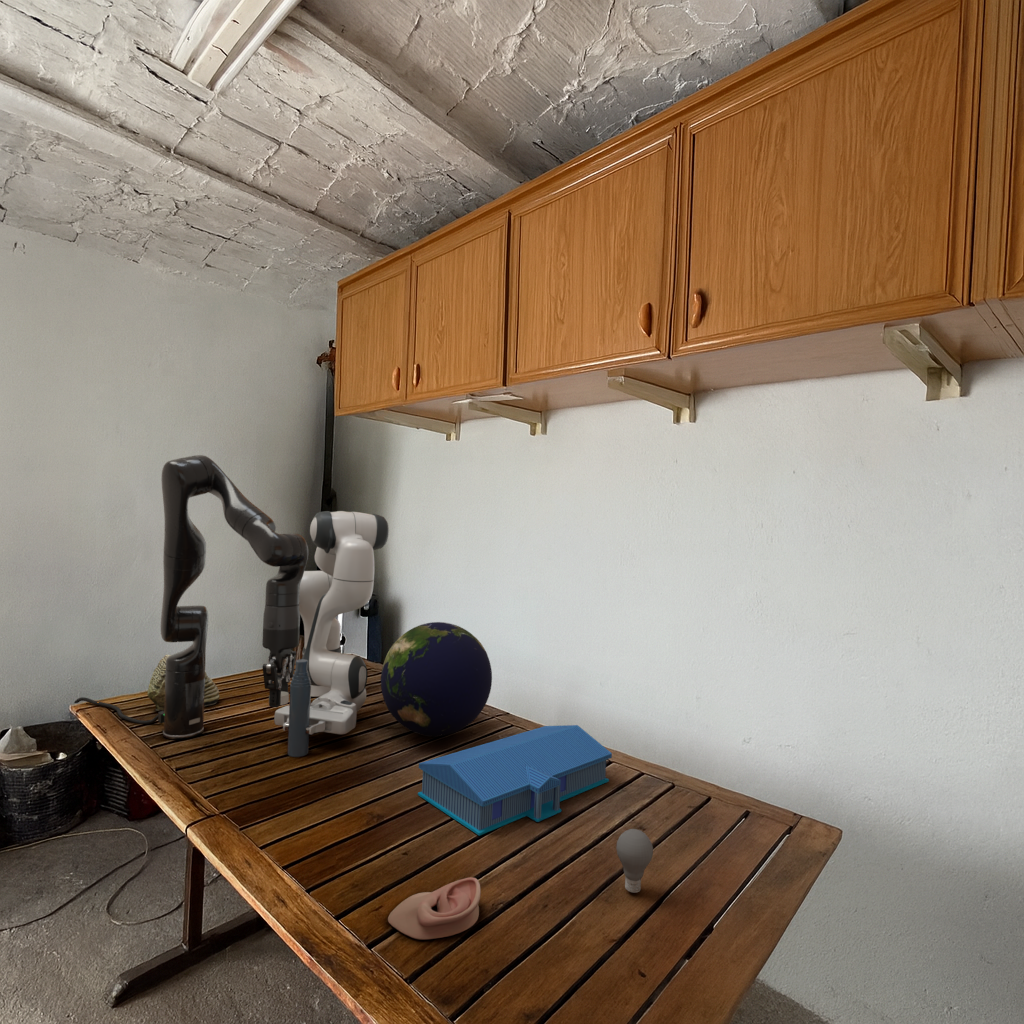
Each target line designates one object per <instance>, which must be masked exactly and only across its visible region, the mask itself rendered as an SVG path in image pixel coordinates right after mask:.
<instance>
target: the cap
mask: <svg viewBox="0 0 1024 1024" xmlns="http://www.w3.org/2000/svg"><path fill="white" fill-rule="evenodd" d="M289 702H290V692H289V691H288V692H283V691H281V703H280V706H285V705H287V704H288V703H289Z"/></svg>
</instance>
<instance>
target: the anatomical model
mask: <svg viewBox="0 0 1024 1024" xmlns="http://www.w3.org/2000/svg"><path fill="white" fill-rule="evenodd" d="M481 894H482V893H481V884H480V881H479V880H478V879H477V878H476V877H464V878H461V879H458V880H455V881H453V882H450V883H448V884H446V885H443V886H441V887H440V888H437V889H435V890H433V891H431V892H430V891H426V892H425V891H424V892H418V893H415V894H413V895H410V896H408V897H407V898H406V899H404V900H403V901H401V902H400V903H398V905H397V906H396V907H394V909H393V910H392V911H391V912H390V913H389V915H388V917H387V922H388V924H389V925H391V927H393V928H394V929H396V930H397V931H398V932H400V933H401V934H404V935H405V936H407V937H410V938H412V939H414V940H433V939H440V938H446V937H451V936H454V935H457V934H460V933H463V932H464V931H467V930H468V929H470V928H472V927H473V926H474V925H475V924H476V923H477V922H478V920H479V917H480V916H479V915H480V907H479V903H480V900H481Z"/></svg>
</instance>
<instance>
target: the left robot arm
mask: <svg viewBox="0 0 1024 1024" xmlns="http://www.w3.org/2000/svg"><path fill="white" fill-rule="evenodd" d="M161 491H162V492H161V493H162V502H163V503H162V504H163V515H164V516H163V518H164V533H163V534H164V538H163V561H162V562H163V563H162V565H163V591H162V592H163V593H162V602H161V603H162V605H161V615H160V635H161V639H162V641H164V642H165V643H189V642H190V643H191V642H192V644H190V646H188V647H187V648H184V649H183V650H181V651H179V652H176V653H174V654H170V655H171V656H169V657H168V658H167V660H166V674H165V705H164V710H162V711H158V712H157V715H155V716H154V717H153V718H152V719H148V720H141V719H137V718H133V717H130V716H128V715H125V714H124V713H123V711H122V710H121V708H120V707H119V706H117V705H115V704H111V703H108V702H103V701H102V702H101V701H98V700H94V699H91V698H89V697H83V696H81V697H78V698H77V699H76V700H74V701H73V704H78V703H80V702H86V703H89V704H91V705H95V706H101V707H105V708H109V709H112V710H114V711H115V712H116V713H117V715H118V717H119V718H120V719H122V720H125V721H127V722H130V723H133V724H140V725H151V724H154V723H156V722H157V721H158V722H159V723H160V724H163V730H162V737H164V738H166V739H169V740H185V739H190V738H191V739H192V738H194V737H197V736H199V735H202V734H203V732H204V730H205V729H204V726H205V725H204V722H205V721H204V718H205V706H204V693H205V672H206V664H207V663H206V656H207V655H206V654H207V653H206V652H207V649H206V648H207V637H208V636H207V635H208V627H209V611H208V609H207V607H206V606H205V605H178V604H179V602H180V600H181V599H182V597H183V595H184V594H185V593H186V591H187V590H189V588H190V587H191V586H192V585H193V584H194V582H196V580H198V578H199V577H200V576H201V574H202V573H203V571H204V569H205V566H206V559H207V543H206V539H205V537H204V535H203V534H202V532H201V531H200V530H199V529H198V527H197V526H196V525H195V524H194V522H193V521H192V520H191V518H190V516H189V506H188V505H189V500H190V498H193V497H197V496H201V495H205V494H210V495H213V496H215V497H216V498H218V499H219V500H220V501H221V505H222V511H223V516H224V520H225V521H226V523H227V525H228V526H229V527H230V528H231V529H232V530H233V531H234V532H235V533H237V534H238V535H239V536H240V537H241V538H243V539H244V540H245V541H247V542H248V544H249V545H250V548H251V549H252V550H253V551H254V552H253V553H255V555H256V556H257V558H258V559H259V560H260V561H261V562H262V563H264V564H265V565H268V566H270V567H274V568H278V567H279V568H278V571H277V573H276V574H275V575H274V576H272V577H270V578H268V579H267V581H266V584H265V595H264V596H265V600H264V610H263V617H262V620H263V621H262V641H261V642H262V643H261V644H262V647H263V648H264V649H267V650H269V656H268V657H267V663H263V664H262V675H263V684H264V689H265V690H269V693H268V694H269V696H268V706H269V707H271V708H279V707H280V706H281V705H280V703H281V691H283V692H288V693H289V684H290V683H291V679H292V677H293V674H294V671H295V666H296V663H295V662H296V660H297V651H296V650H293V649H295V648H297V647H298V646H299V645H300V629H301V628H300V624H301V615H300V609H299V597H300V583H301V580H302V577H303V574H304V571H306V567H307V563H308V559H309V546H308V543H307V541H306V539H305V538H304V536H303V535H301V534H299V533H294V532H293V533H292V532H291V533H289V532H288V533H277V532H276V529H277V526H276V523H275V521H274V520H273V519H272V518H271V517H270V516H269V515H268V514H266V513H265V512H264V511H263V510H261V509H260V508H258V506H256V505H255V504H253V502H252V501H250V500H249V498H247V497H246V496H245V495H244V494H243V493H242V492H241V490H240V489H239V488H238V487H237V485H236V484H235V483H234V482H233V481H232V480H231V479H230V478H229V476H228V475H226V473H225V472H224V471H223V470H222V468H221V467H220V466H219V465H218V464H217V463H216V462H215V461H214V460H213V459H211V458H210V457H209V456H207V455H203V454H195V455H190V456H185V457H179V458H175V459H170V460H168V461H166V462H165V463H164V464H163V467H162V470H161ZM97 702H99V703H97Z"/></svg>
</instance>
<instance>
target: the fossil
mask: <svg viewBox="0 0 1024 1024" xmlns="http://www.w3.org/2000/svg"><path fill="white" fill-rule="evenodd" d="M171 655H172V654H165V655H164V656H163V657H162V658H161V659H160V660H159V662H158V663H157V666H156V667H155V669H154V670H153V672H152V675H151V677H150V680H149V684H148V688H147V697H148V699H149V700H150V701H152V703H153V704H154V706H155V711H158V712H161V711H164V705H165V674H166V660H167V658H168V657H169V656H171ZM220 698H221V696H220V690H219V688H218V686H217V685H216V683H215V682H214V681H213V679H212V678H211V677H209V675H208V674H207V672H206V671H205V693H204V707H207V706H213V705H215V704H217V703H218V701H219V699H220Z"/></svg>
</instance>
